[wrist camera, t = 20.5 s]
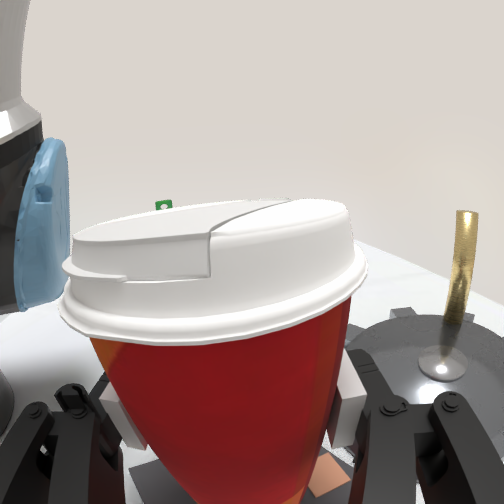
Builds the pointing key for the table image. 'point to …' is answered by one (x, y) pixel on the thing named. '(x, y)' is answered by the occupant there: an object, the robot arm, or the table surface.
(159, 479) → the marked pad
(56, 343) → the table surface
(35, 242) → the robot arm
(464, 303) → the sprocket
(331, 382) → the paper cup
